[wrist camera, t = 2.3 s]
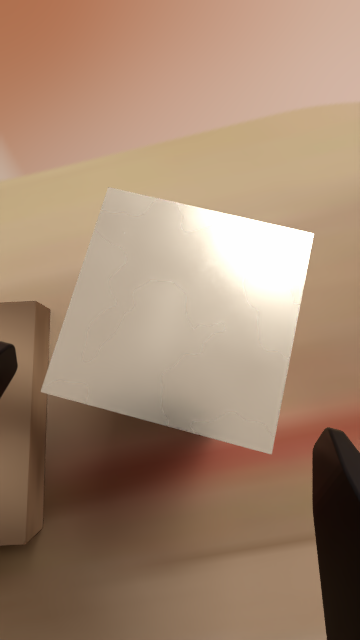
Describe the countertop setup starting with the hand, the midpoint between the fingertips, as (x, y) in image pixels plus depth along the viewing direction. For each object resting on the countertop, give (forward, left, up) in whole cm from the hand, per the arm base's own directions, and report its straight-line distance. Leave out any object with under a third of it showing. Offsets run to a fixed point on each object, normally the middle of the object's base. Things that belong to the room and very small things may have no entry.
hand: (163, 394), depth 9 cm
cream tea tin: (+2, -1, -10) cm, 10 cm away
